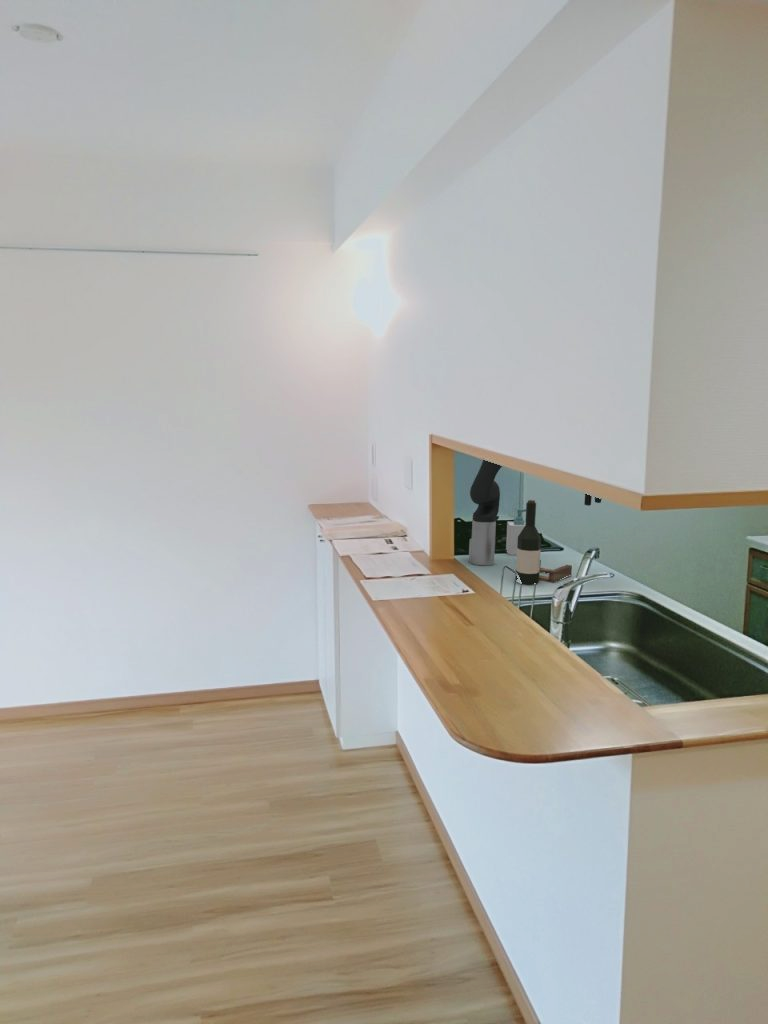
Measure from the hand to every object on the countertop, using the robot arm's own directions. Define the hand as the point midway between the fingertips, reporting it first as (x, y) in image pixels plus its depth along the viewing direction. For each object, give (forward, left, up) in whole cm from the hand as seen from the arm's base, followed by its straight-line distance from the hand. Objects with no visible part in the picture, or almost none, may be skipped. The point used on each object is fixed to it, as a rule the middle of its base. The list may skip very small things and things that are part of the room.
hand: (592, 504), depth 282 cm
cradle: (-17, 0, -29) cm, 34 cm away
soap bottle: (-44, +26, -29) cm, 59 cm away
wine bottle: (-17, -14, -29) cm, 37 cm away
